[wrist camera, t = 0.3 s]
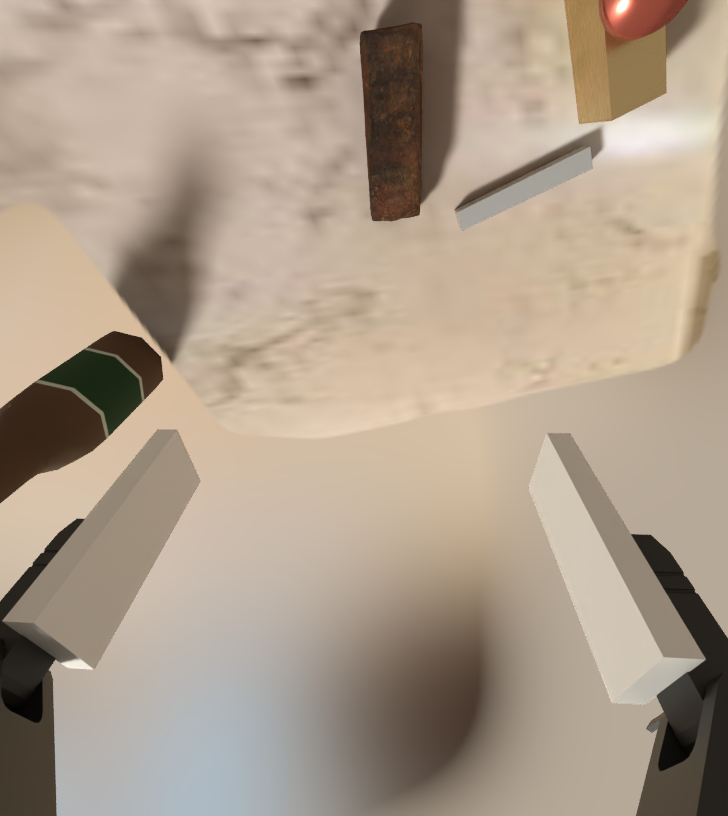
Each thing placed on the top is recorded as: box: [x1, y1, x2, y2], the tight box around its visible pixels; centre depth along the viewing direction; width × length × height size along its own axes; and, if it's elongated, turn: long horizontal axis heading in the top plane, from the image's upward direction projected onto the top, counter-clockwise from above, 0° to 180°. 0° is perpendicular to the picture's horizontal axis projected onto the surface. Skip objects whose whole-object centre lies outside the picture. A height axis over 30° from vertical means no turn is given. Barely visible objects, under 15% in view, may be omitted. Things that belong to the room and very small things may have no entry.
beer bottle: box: [0, 331, 163, 503], centre depth 32 cm, size 8×8×24 cm
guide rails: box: [455, 146, 593, 231], centre depth 25 cm, size 17×10×2 cm, turn 26°
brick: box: [360, 23, 423, 221], centre depth 26 cm, size 11×4×5 cm, turn 5°
